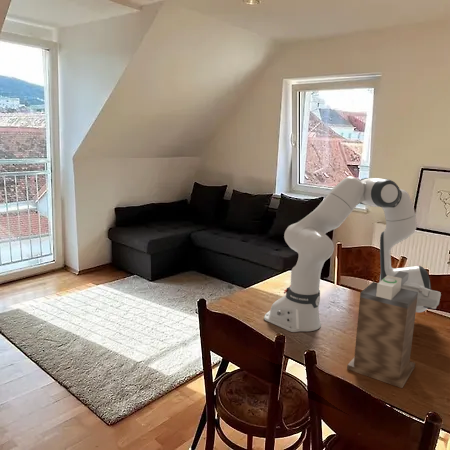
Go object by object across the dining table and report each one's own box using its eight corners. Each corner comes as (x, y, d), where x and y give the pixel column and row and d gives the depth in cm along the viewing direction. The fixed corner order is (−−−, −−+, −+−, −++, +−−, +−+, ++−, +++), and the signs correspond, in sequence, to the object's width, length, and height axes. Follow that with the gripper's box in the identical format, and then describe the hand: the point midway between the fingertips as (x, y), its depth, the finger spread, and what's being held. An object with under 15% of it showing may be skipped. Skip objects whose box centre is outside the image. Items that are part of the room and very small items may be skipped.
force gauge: (376, 296, 130) (377, 282, 129) (396, 277, 147) (397, 265, 147) (391, 299, 128) (392, 285, 127) (410, 280, 145) (411, 267, 144)
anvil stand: (347, 369, 138) (353, 292, 133) (363, 350, 150) (370, 279, 144) (402, 388, 129) (412, 306, 123) (414, 366, 140) (424, 291, 135)
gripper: (387, 281, 171) (379, 272, 160) (443, 293, 159) (439, 284, 148) (383, 296, 169) (375, 288, 158) (440, 310, 157) (435, 302, 147)
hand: (407, 286), depth 153 cm, fingers open, 8 cm apart
